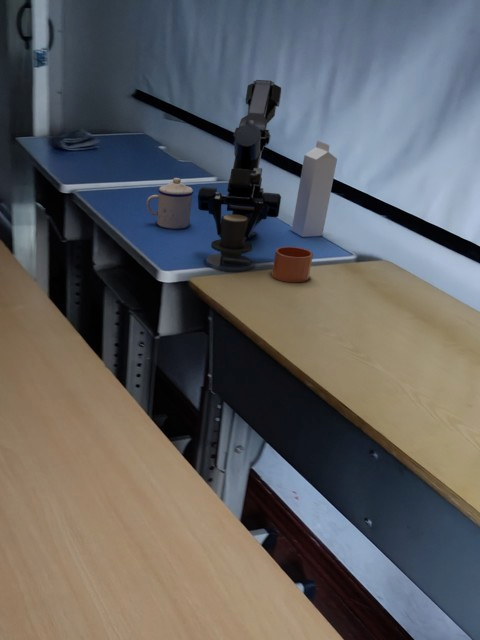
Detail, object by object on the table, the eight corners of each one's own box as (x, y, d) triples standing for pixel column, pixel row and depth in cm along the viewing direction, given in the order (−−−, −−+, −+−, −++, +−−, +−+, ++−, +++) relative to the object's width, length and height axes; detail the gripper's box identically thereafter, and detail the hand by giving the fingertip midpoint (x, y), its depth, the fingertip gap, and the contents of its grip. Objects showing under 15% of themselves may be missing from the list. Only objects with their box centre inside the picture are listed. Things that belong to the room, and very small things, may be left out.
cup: (278, 268, 194) (282, 244, 191) (312, 274, 191) (317, 250, 187) (266, 277, 188) (270, 253, 185) (301, 284, 185) (306, 260, 182)
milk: (302, 237, 216) (318, 145, 203) (291, 230, 220) (306, 140, 208) (322, 236, 217) (340, 144, 204) (311, 229, 222) (327, 140, 209)
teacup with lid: (189, 220, 226) (193, 175, 219) (190, 230, 218) (195, 183, 211) (145, 219, 226) (148, 173, 219) (145, 228, 219) (148, 181, 212)
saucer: (216, 254, 202) (216, 250, 201) (259, 262, 197) (259, 258, 197) (198, 265, 194) (199, 262, 193) (243, 274, 189) (243, 271, 189)
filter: (231, 246, 200) (236, 210, 195) (260, 256, 193) (265, 219, 189) (201, 252, 195) (205, 215, 190) (229, 263, 189) (234, 225, 184)
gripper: (203, 149, 187) (191, 212, 184) (287, 155, 183) (276, 220, 181) (204, 178, 198) (192, 238, 195) (283, 185, 194) (272, 246, 192)
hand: (232, 235), depth 190 cm, fingers closed on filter, 6 cm apart
